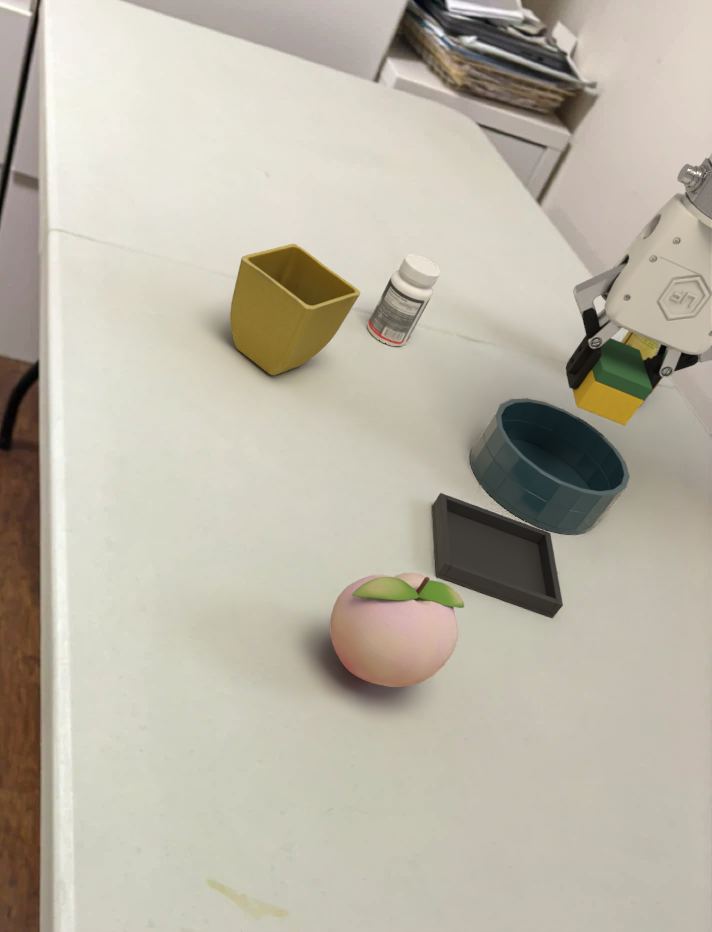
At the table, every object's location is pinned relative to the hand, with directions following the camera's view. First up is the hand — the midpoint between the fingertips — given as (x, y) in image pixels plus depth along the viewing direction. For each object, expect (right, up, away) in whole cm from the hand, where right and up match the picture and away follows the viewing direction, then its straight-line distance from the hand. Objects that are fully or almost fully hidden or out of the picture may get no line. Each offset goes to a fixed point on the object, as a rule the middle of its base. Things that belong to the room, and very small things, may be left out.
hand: (599, 390), depth 100 cm
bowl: (-3, -7, +8) cm, 11 cm away
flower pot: (-30, +5, +7) cm, 31 cm away
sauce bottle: (+13, +8, +29) cm, 33 cm away
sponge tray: (-11, -16, -3) cm, 20 cm away
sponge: (0, 0, 0) cm, 1 cm away
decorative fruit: (-25, -27, -18) cm, 41 cm away
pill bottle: (-16, +12, +19) cm, 27 cm away
